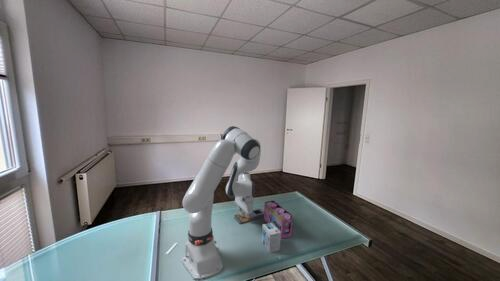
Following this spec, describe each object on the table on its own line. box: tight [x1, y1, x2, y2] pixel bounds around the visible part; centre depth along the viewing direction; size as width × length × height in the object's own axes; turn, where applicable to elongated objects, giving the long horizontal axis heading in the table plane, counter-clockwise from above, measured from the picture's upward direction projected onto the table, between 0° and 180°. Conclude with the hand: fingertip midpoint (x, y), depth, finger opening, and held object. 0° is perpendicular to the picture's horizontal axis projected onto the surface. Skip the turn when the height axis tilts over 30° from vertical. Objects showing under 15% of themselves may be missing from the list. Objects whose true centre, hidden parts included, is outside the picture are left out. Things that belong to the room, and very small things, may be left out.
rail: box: [233, 208, 264, 225], centre depth 139 cm, size 8×22×3 cm, turn 120°
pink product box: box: [263, 200, 293, 240], centre depth 127 cm, size 24×8×14 cm, turn 24°
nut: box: [238, 209, 246, 218], centre depth 136 cm, size 4×4×6 cm
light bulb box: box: [261, 223, 281, 254], centre depth 109 cm, size 11×7×11 cm, turn 21°
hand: (243, 213), depth 135 cm, fingers open, 8 cm apart
